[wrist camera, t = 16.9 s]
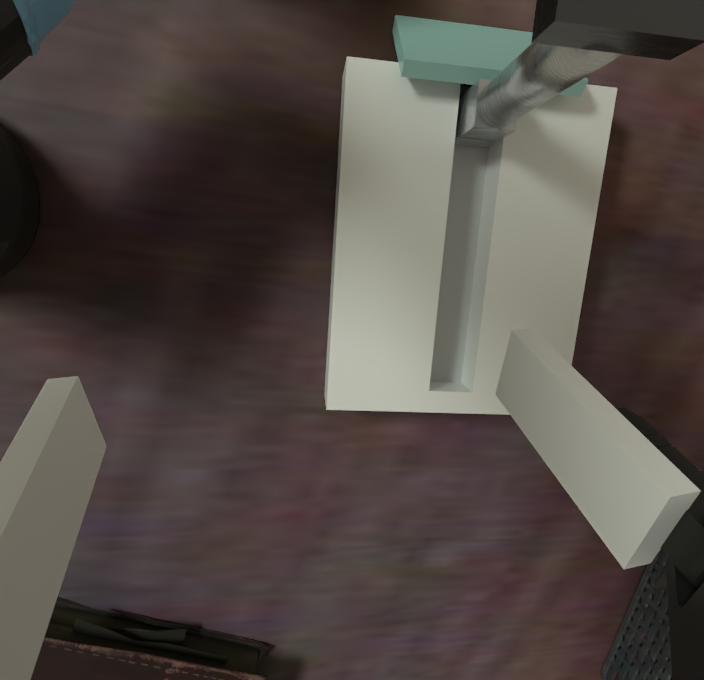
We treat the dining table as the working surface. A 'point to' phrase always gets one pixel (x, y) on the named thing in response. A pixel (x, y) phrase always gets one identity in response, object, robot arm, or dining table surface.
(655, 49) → the t key
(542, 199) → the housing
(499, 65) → the cover
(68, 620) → the diary
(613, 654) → the storage bin
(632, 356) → the dining table surface
